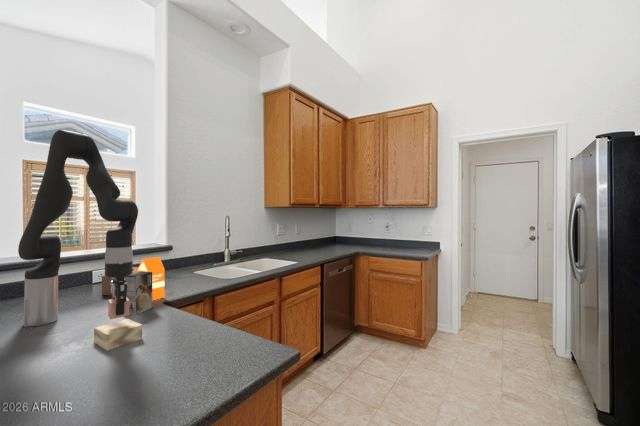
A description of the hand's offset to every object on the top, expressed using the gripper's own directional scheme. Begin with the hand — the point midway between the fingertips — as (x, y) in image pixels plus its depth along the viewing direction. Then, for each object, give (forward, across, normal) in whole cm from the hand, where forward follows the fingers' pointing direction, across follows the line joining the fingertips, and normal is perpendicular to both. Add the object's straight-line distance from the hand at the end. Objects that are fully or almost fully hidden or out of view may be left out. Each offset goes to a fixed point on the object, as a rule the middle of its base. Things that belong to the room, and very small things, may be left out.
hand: (118, 312), depth 95 cm
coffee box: (+9, -29, +11) cm, 32 cm away
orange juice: (+9, -44, +19) cm, 49 cm away
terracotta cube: (+1, 0, 0) cm, 1 cm away
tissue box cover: (+10, -74, +15) cm, 76 cm away
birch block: (+10, 0, 0) cm, 10 cm away
